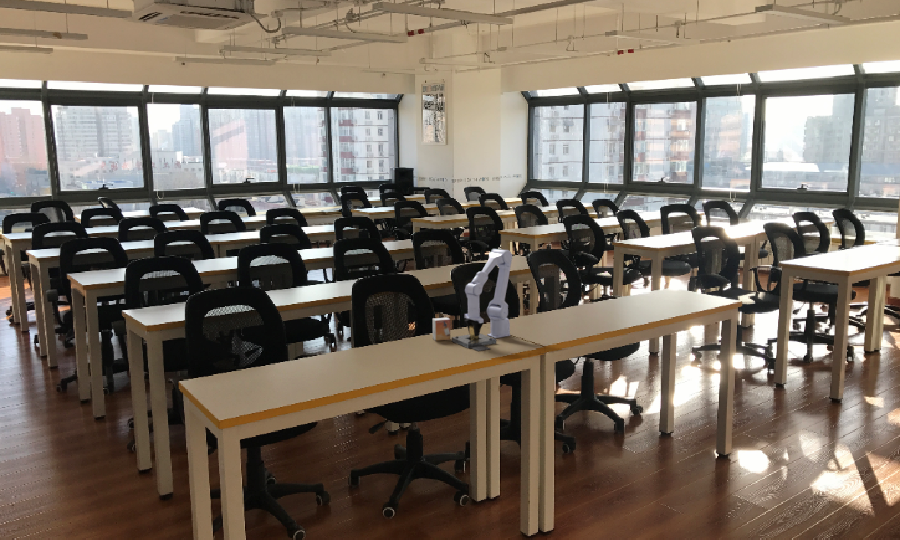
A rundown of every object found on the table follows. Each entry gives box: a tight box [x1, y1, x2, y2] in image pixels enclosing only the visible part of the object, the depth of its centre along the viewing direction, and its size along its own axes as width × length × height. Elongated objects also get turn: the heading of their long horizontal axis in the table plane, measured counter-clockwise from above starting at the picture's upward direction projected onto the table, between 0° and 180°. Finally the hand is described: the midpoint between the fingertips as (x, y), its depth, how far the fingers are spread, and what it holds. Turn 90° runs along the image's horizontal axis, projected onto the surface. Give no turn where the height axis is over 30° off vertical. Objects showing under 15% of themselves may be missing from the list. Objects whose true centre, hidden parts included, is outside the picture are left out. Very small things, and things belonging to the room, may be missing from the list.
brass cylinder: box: [468, 325, 479, 341], centre depth 349 cm, size 5×5×7 cm
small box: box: [432, 316, 452, 342], centre depth 357 cm, size 8×6×10 cm
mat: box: [469, 345, 492, 352], centre depth 338 cm, size 7×7×1 cm
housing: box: [451, 333, 497, 349], centre depth 350 cm, size 16×16×2 cm
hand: (474, 334), depth 350 cm, fingers closed on brass cylinder, 5 cm apart
